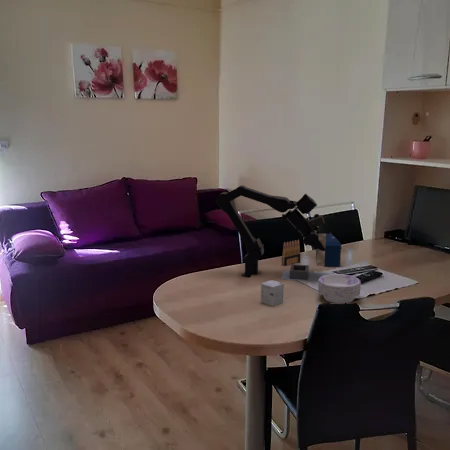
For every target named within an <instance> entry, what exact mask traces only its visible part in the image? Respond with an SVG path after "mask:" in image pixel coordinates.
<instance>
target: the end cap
mask: <svg viewBox="0 0 450 450" xmlns="http://www.w3.org/2000/svg"><path fill="white" fill-rule="evenodd" d="M289 271H290V279H302V280H308V274H309V272H310V265H308V264H291V265H290V268H289Z"/></svg>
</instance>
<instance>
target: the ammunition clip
mask: <svg viewBox="0 0 450 450" xmlns="http://www.w3.org/2000/svg"><path fill="white" fill-rule="evenodd" d="M300 247H301V246H300V239H298V240H296V239H295V240H292V241H287V242H286V241H284V242H283V247H282V248H283V249H282V256H281V266H283V267H285V266H286V267H287V266H291V265H292V264H294V265H296V264H301V248H300Z"/></svg>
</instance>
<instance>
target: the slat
mask: <svg viewBox="0 0 450 450" xmlns="http://www.w3.org/2000/svg"><path fill="white" fill-rule="evenodd" d="M326 234H327V233H320V232H319V240H320V242H321V243H322V245H323V246H324V248H325V241H326ZM324 261H325V251H321V250H319V249H318V250H317V256H316V266H319V267H321V266H322V267H325V266H324Z"/></svg>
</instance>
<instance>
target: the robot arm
mask: <svg viewBox="0 0 450 450" xmlns="http://www.w3.org/2000/svg"><path fill="white" fill-rule="evenodd" d="M239 197H243V198H247V199H250V200H253V201H256V202H258V203H261V204H265V205H267V206H268V207H270V208H272V209H273V210H275V211H276V212H279V213H282V214H281V221H282V222H285V221H286V220H288V222H289V223H290V224H291V225H292V226H293V227H294V230H295V231H297V232H299V233H300V235H301V237H302V244H304V246H310V247H313V248H315V249H316V248H317V249H319V250H321V251H325V248H324V246H323V245H322V243H321V242H320V240H319V233H320V229H319V228H320V226H323V225H324V224H326V223H325V219H324V217H323V215H322V214H319V213H315V214H314V215H313V218H311V219H309V218H307V217H304V215H308V214H309V213H311V211H312V210H313V209H315V208H316V207H317V206H318V204H317V202H316V201H315V200H314V199H313V197H311V196H309V195H308V194H307V193H304V195H302V197H300V198H299V199H298V200H297V201H296V200H290V199H289V198H288V197H286V196H281V195H271V194H268V193H265V192H261V191H259V190H256V189H253V188H249V187H247V186H245V185H239V186H238V187H236V188H234V189H233V190H231V191H228V192H227V191H223V192H221V193H219V194H218V195H217V196H216V198H215V203H216V204H217V206H218V207H219V208H220V209H221V211H222V212H224V213H225V214H226V215H227V216H228V218H229V219H230V221H231V223H232V224H233V226H234V227H235V229H236V230H237V232H238V235H240V237H241V239H242V240H243V242H244V244H245V248H246V251H247V253H246V254H245V256H244V257H243V259H242V260H243V263H244V272H243V273H241V276H243V277H249V278H251V277H252V276H253V275H257V274H259V259H261V258H262V256H263V254H264V252H265V249H264V246H265V245H264V244H263V243H262V241H261V239H260V237H258V238H257V239H256V237H254V236H253V234H252V233H251V231H250V230H249V228H248V226H247V225H246V223H245V222H244V220H243V217H242V216H241V215H240V213H239V211H238V210H237V208H236V204H235V203H236V202H235V199H238V198H239ZM325 247H326V246H325Z"/></svg>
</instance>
